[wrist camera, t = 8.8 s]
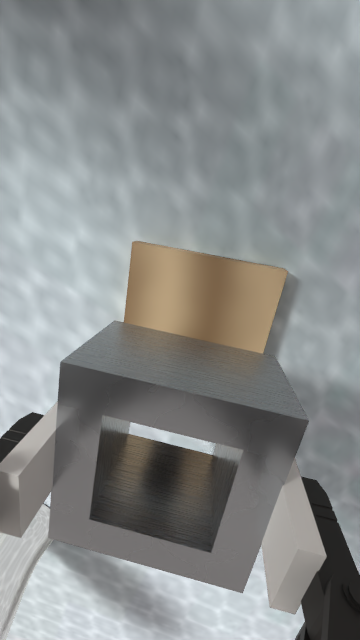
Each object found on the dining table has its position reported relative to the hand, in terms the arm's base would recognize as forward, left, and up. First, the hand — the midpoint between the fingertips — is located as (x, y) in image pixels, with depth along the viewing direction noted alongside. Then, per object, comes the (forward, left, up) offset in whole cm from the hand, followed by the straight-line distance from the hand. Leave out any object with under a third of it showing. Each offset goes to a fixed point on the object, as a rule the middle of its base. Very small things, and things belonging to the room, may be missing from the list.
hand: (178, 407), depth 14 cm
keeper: (0, 0, -7) cm, 7 cm away
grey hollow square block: (0, 0, 0) cm, 0 cm away
